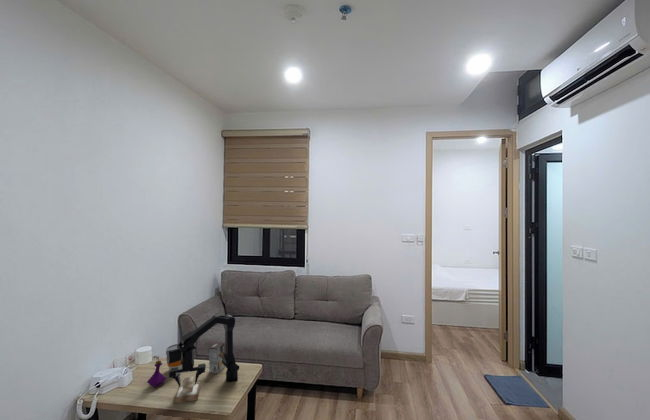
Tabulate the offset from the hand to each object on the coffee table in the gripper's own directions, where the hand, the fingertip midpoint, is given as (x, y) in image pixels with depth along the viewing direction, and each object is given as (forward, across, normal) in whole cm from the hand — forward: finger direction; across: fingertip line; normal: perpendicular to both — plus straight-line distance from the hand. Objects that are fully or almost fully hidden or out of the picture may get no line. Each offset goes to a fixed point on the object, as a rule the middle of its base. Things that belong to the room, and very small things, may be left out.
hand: (187, 385), depth 173 cm
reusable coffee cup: (+6, +12, -33) cm, 36 cm away
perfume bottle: (+6, +20, -17) cm, 27 cm away
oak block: (+3, 0, 0) cm, 3 cm away
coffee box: (+6, -14, -26) cm, 30 cm away
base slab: (+6, 0, 0) cm, 6 cm away
